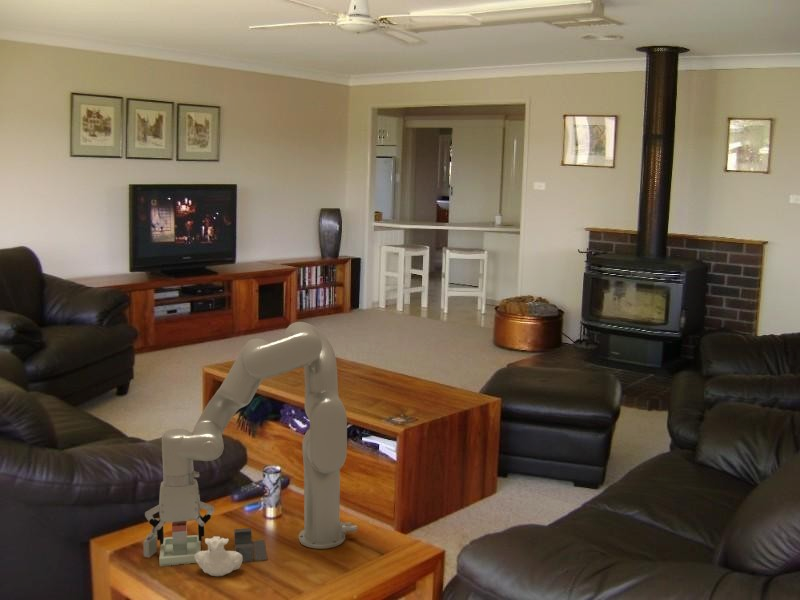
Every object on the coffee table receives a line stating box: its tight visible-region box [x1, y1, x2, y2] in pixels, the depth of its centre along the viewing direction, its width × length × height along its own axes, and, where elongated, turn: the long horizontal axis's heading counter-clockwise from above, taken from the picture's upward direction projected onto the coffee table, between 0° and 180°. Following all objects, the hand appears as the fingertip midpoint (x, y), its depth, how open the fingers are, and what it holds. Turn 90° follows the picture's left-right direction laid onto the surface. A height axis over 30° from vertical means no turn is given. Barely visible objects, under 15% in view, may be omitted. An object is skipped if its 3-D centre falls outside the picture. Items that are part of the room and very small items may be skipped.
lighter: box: [142, 517, 160, 558], centre depth 224 cm, size 7×2×8 cm, turn 166°
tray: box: [158, 534, 202, 567], centre depth 223 cm, size 10×12×2 cm
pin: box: [171, 521, 188, 555], centre depth 223 cm, size 4×4×8 cm
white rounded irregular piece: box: [194, 535, 243, 577], centre depth 212 cm, size 12×8×11 cm
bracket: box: [233, 527, 268, 563], centre depth 225 cm, size 8×11×4 cm
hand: (181, 540), depth 223 cm, fingers open, 9 cm apart
